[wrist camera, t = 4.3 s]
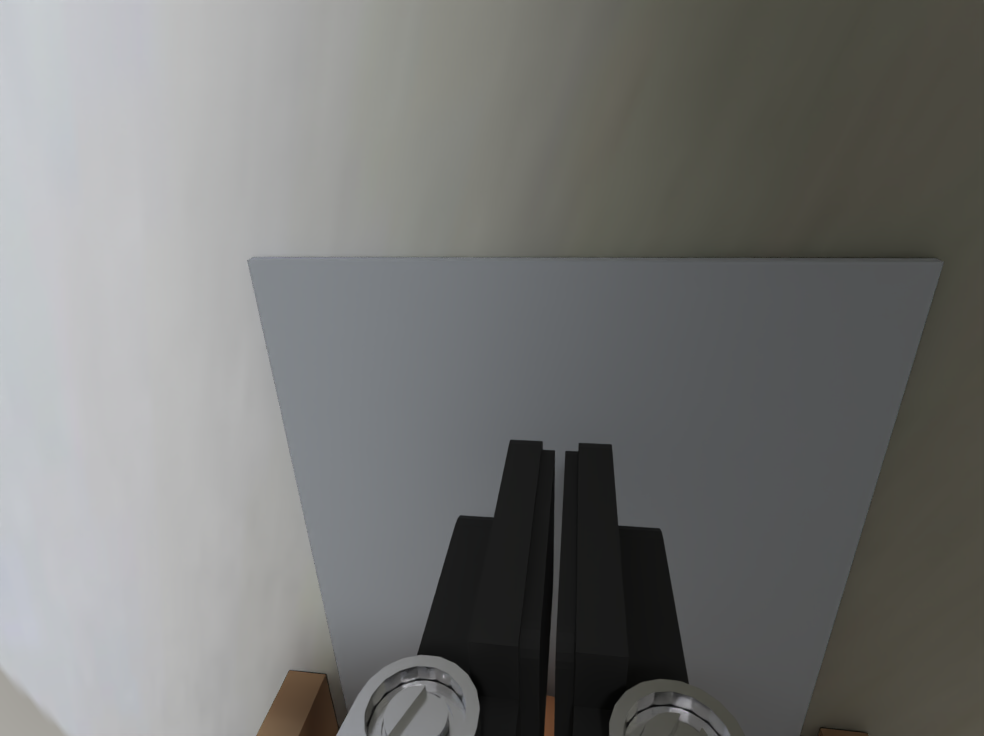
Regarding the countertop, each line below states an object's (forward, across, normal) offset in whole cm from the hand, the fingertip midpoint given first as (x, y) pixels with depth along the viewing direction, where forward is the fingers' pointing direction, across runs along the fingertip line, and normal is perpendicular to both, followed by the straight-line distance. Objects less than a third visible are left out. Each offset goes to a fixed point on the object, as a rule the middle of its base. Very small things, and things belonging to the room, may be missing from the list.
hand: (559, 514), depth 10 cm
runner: (+2, 0, +9) cm, 9 cm away
